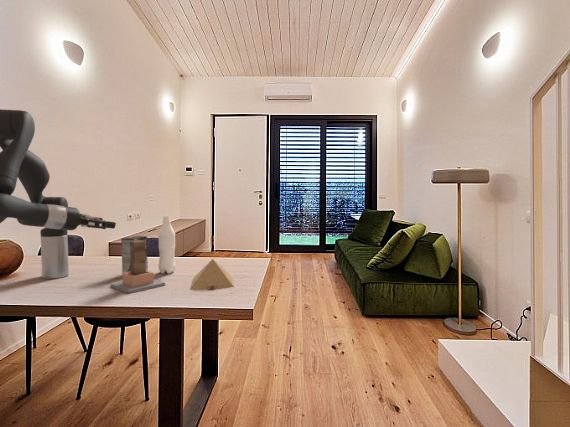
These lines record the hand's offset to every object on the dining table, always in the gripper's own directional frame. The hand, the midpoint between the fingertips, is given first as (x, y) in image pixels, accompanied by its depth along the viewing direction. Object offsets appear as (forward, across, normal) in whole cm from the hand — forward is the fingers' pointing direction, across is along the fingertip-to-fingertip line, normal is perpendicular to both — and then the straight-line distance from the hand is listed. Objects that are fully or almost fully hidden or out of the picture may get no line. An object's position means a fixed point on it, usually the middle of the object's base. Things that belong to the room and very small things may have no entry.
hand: (108, 223), depth 118 cm
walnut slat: (+13, -7, +20) cm, 25 cm away
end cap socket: (+13, -8, +21) cm, 26 cm away
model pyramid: (+31, -28, +16) cm, 44 cm away
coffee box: (+24, +11, +22) cm, 35 cm away
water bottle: (+33, +1, +19) cm, 38 cm away
